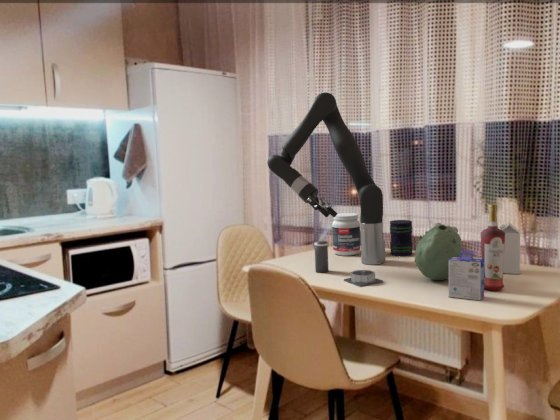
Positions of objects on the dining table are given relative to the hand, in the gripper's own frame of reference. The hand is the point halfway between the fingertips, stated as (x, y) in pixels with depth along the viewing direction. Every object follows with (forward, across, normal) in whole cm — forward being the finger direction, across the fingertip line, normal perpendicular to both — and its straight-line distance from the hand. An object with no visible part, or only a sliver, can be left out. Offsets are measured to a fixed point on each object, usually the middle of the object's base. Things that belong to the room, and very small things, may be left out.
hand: (332, 215), depth 194 cm
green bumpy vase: (+46, -2, -10) cm, 47 cm away
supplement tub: (+8, +33, +17) cm, 38 cm away
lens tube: (+12, -1, +19) cm, 23 cm away
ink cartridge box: (+56, -20, -16) cm, 61 cm away
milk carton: (+61, +16, -27) cm, 69 cm away
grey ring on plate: (+28, -11, +7) cm, 31 cm away
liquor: (+60, -9, -22) cm, 65 cm away
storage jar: (+26, +37, 0) cm, 46 cm away
